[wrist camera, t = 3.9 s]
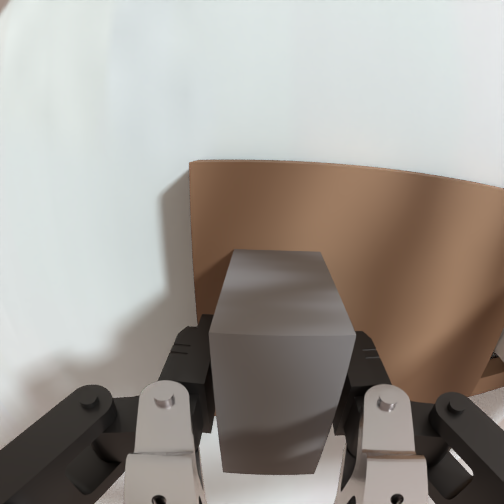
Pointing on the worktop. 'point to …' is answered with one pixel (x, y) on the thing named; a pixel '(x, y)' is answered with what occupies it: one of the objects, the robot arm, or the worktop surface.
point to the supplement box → (500, 346)
